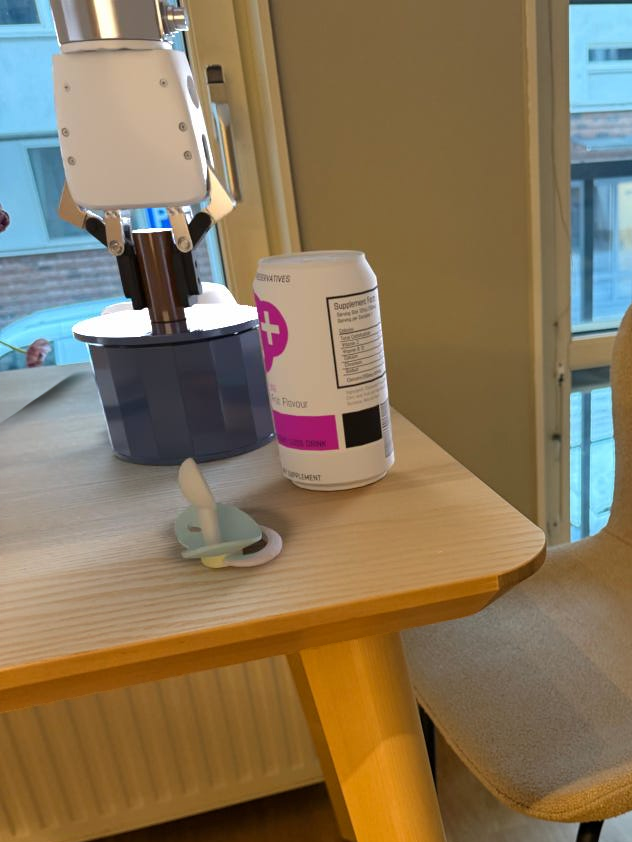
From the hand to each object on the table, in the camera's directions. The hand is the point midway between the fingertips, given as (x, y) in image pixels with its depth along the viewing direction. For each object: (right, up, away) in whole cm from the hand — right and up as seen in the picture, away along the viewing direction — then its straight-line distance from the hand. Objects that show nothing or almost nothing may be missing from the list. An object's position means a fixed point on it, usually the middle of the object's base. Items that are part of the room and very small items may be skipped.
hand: (166, 304), depth 73 cm
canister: (+1, -10, +5) cm, 11 cm away
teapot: (-8, +6, +35) cm, 36 cm away
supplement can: (+14, -15, -5) cm, 21 cm away
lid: (0, -2, +1) cm, 2 cm away
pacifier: (+10, -22, -17) cm, 29 cm away
